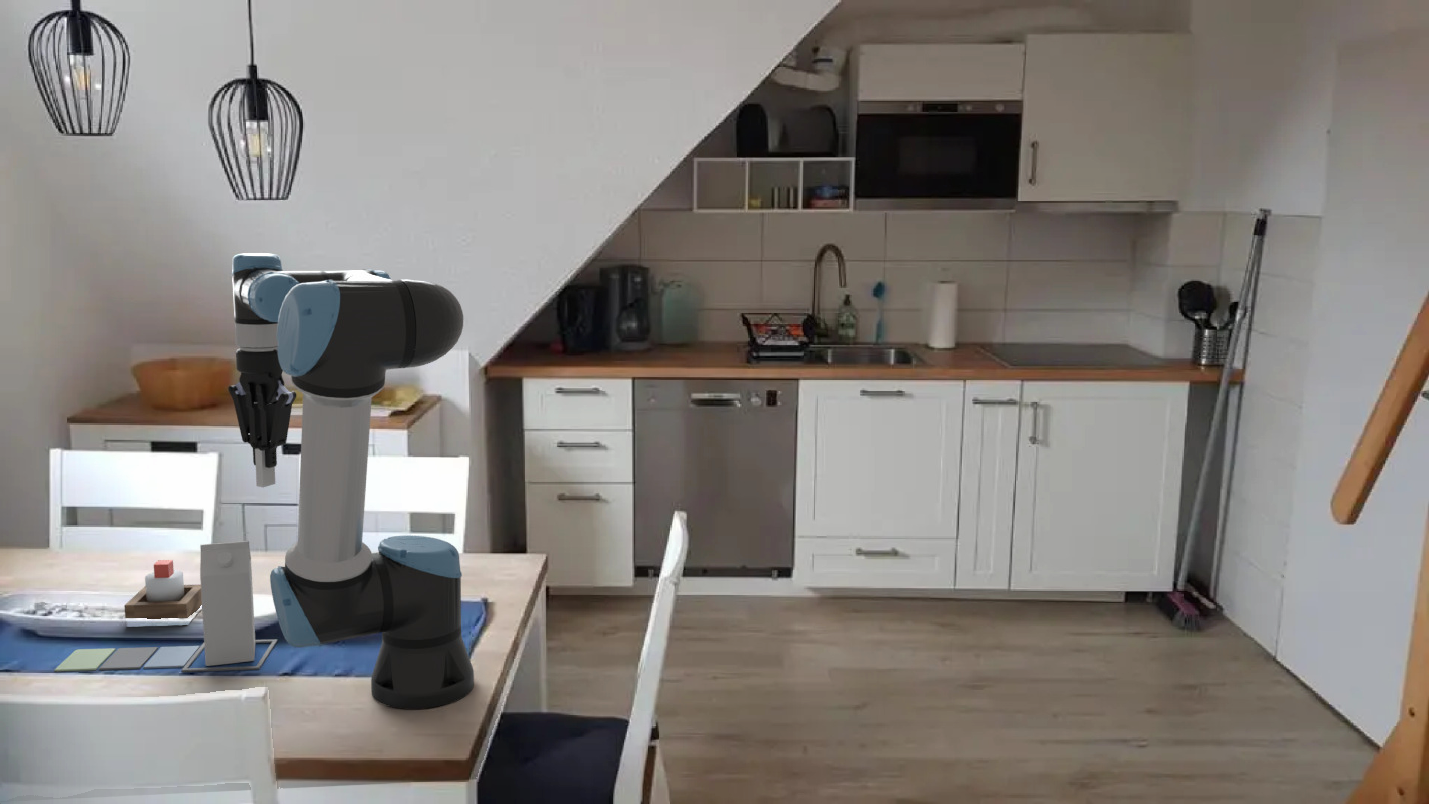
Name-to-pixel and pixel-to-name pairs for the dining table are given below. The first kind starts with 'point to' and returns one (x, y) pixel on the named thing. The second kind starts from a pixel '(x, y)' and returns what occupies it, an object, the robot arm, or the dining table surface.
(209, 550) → the milk carton
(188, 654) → the track
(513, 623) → the dining table surface
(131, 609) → the wooden square tray
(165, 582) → the red white stacked block
